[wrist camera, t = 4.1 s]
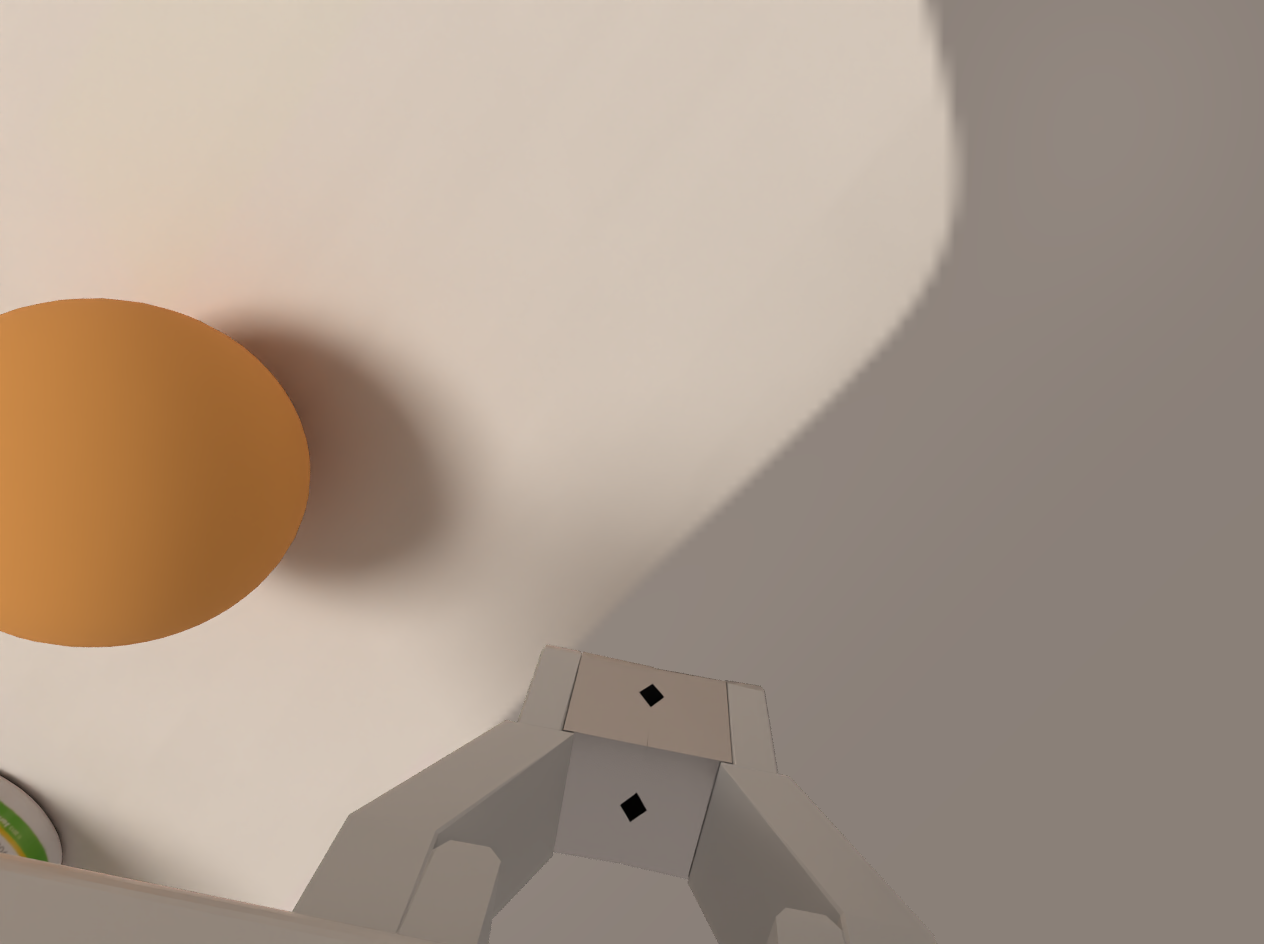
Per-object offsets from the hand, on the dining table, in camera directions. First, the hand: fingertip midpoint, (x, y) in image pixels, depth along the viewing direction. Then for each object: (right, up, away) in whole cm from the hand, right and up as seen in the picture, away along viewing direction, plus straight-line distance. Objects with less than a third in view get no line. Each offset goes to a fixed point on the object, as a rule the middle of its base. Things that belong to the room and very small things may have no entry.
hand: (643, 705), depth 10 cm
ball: (-9, +3, +3) cm, 10 cm away
